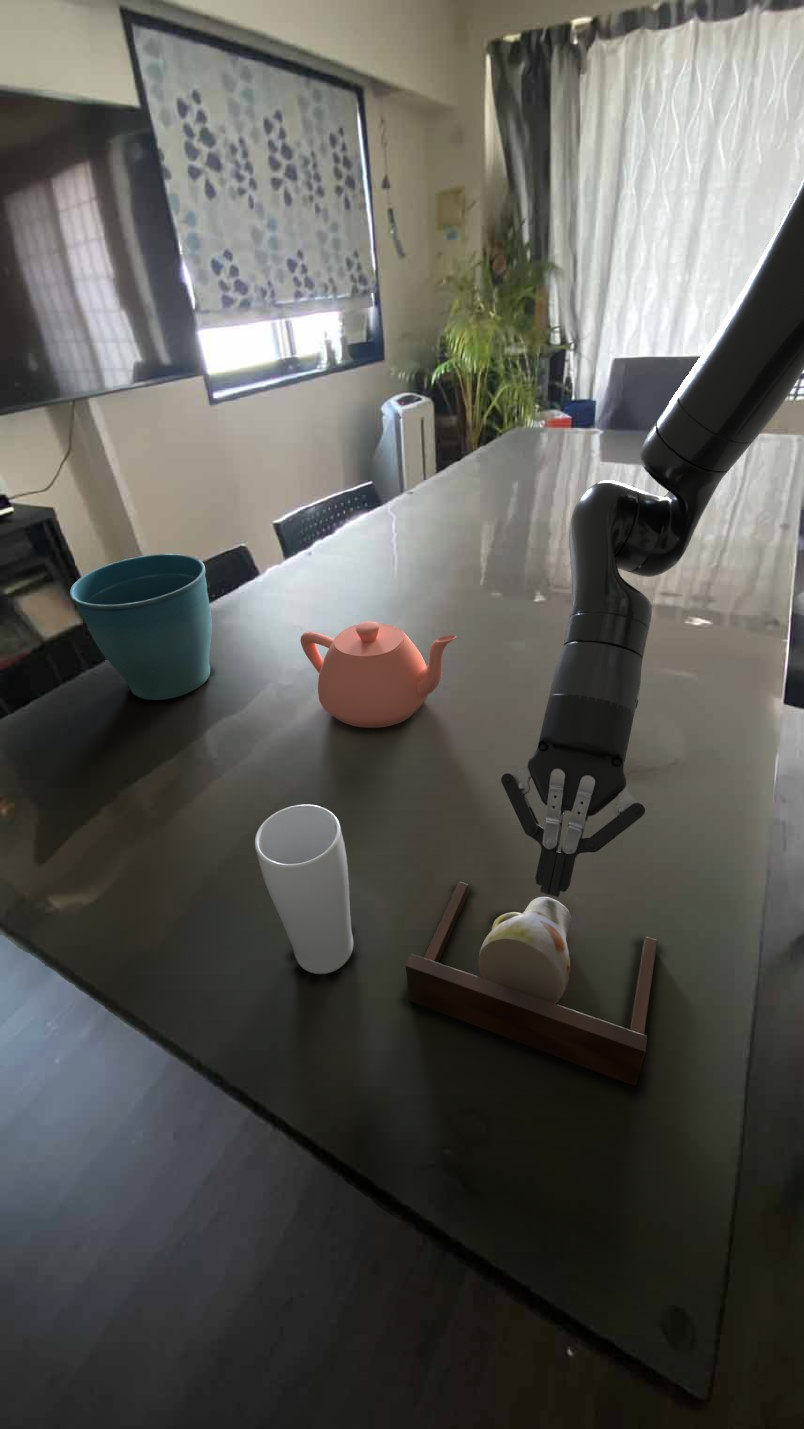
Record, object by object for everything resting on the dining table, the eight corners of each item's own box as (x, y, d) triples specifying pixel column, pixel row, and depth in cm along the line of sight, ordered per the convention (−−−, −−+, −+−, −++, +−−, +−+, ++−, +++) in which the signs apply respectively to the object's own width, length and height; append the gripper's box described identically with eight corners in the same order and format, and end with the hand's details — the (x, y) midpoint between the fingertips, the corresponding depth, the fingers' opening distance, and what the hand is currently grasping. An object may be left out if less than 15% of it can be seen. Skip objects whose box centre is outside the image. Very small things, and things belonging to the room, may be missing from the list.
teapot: (472, 686, 91) (471, 608, 84) (441, 750, 80) (437, 666, 73) (332, 667, 98) (321, 594, 91) (286, 724, 87) (269, 645, 80)
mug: (590, 927, 58) (608, 913, 49) (538, 1026, 55) (547, 1031, 46) (517, 882, 60) (522, 861, 51) (463, 975, 58) (458, 970, 48)
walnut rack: (654, 950, 55) (664, 913, 52) (635, 1086, 46) (645, 1052, 44) (458, 891, 62) (457, 855, 59) (409, 1000, 53) (405, 965, 50)
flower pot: (172, 642, 109) (142, 546, 99) (255, 663, 101) (231, 560, 91) (85, 697, 96) (40, 593, 86) (172, 725, 89) (134, 614, 79)
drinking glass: (335, 997, 54) (307, 880, 45) (272, 965, 57) (234, 849, 48) (376, 935, 59) (358, 818, 50) (316, 908, 61) (289, 793, 53)
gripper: (512, 680, 56) (467, 875, 54) (672, 707, 51) (629, 922, 50) (525, 697, 63) (486, 871, 61) (667, 723, 58) (629, 912, 56)
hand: (550, 894), depth 55 cm, fingers closed
